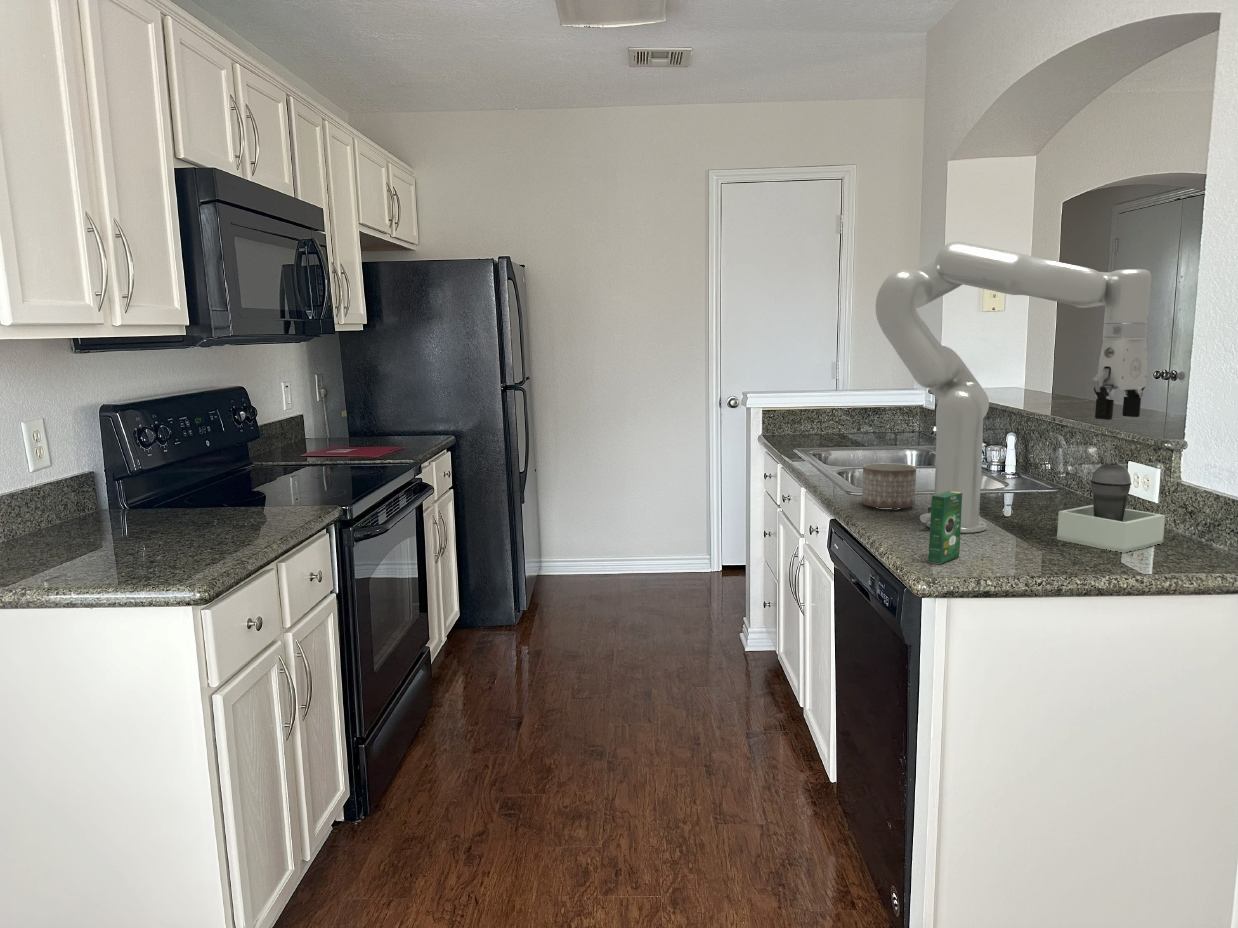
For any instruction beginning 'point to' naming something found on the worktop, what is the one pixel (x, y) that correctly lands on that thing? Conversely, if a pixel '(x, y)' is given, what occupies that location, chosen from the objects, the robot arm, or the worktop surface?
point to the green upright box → (945, 527)
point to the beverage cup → (1110, 490)
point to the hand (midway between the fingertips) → (1117, 417)
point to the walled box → (1111, 529)
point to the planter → (889, 485)
